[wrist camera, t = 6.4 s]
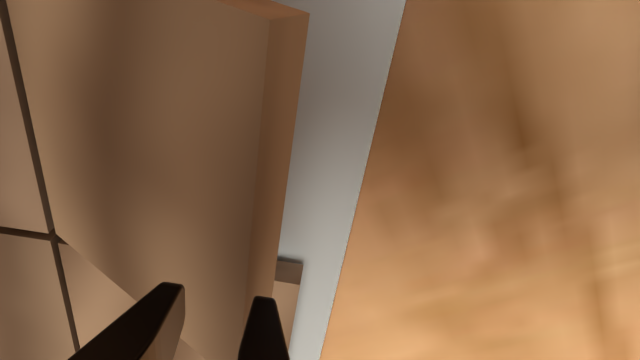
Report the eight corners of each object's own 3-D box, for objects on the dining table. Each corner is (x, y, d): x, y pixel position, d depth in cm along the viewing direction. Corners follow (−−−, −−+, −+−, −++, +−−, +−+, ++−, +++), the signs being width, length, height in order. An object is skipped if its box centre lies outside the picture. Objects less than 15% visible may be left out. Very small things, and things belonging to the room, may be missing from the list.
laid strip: (6, -154, 13) (-40, -161, 11) (104, 385, 27) (89, 415, 25) (-174, -187, 13) (-246, -198, 11) (19, 373, 26) (-1, 402, 25)
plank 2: (303, 264, 19) (300, 284, 18) (277, 408, 25) (274, 429, 24) (73, 224, 19) (57, 243, 18) (101, 378, 25) (90, 397, 24)
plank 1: (310, 13, 9) (269, 19, 8) (263, 360, 15) (237, 385, 14) (35, -77, 13) (-11, -79, 12) (84, 220, 19) (56, 233, 18)
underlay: (422, -80, 13) (424, -79, 13) (304, 414, 27) (303, 423, 27) (6, -154, 13) (-6, -157, 12) (104, 385, 27) (99, 394, 26)
